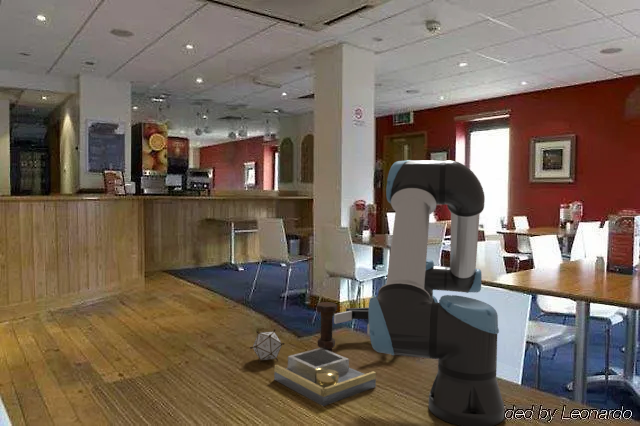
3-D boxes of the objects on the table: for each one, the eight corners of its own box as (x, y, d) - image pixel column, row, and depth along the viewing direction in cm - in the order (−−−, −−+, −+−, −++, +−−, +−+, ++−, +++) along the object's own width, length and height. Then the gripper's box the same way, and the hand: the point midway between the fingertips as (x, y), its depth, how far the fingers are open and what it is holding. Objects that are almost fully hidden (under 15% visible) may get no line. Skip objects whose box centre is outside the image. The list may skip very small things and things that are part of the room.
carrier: (375, 387, 112) (375, 365, 112) (323, 406, 102) (323, 383, 102) (324, 364, 126) (325, 345, 126) (274, 379, 116) (274, 359, 116)
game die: (271, 376, 128) (278, 354, 122) (242, 362, 129) (248, 340, 123) (284, 350, 135) (291, 328, 129) (257, 338, 136) (262, 315, 130)
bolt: (333, 363, 127) (334, 307, 126) (314, 362, 128) (315, 306, 127) (337, 356, 133) (338, 302, 132) (319, 354, 134) (319, 301, 133)
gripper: (433, 334, 140) (383, 348, 127) (371, 316, 159) (322, 327, 146) (434, 308, 140) (384, 320, 126) (371, 293, 159) (322, 302, 145)
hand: (350, 324), depth 136 cm, fingers open, 13 cm apart
